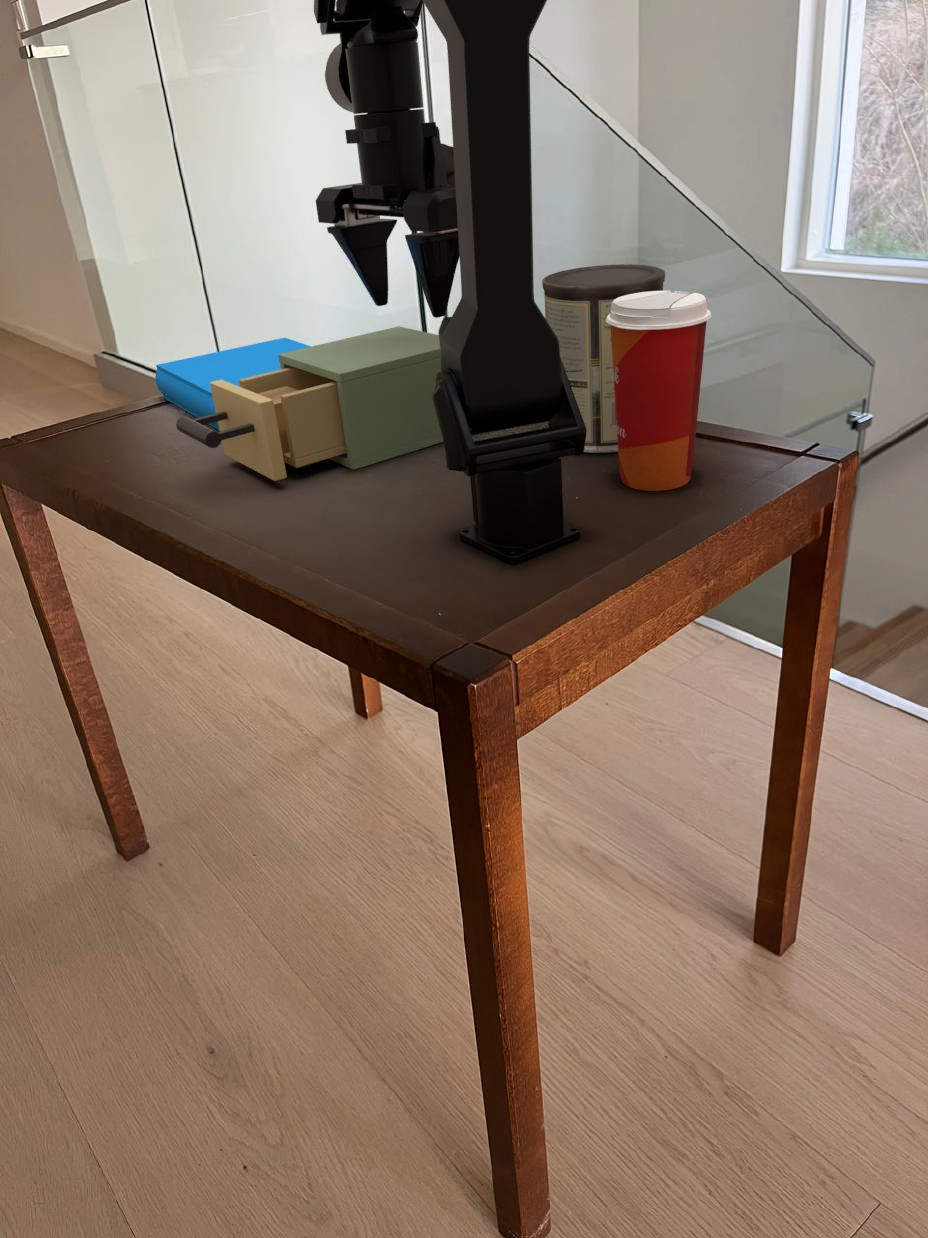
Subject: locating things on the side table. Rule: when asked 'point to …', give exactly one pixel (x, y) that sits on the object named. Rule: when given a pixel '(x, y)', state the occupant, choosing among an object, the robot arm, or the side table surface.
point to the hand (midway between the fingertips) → (409, 310)
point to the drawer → (273, 421)
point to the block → (280, 413)
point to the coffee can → (593, 337)
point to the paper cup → (657, 384)
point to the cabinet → (379, 390)
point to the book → (217, 373)
